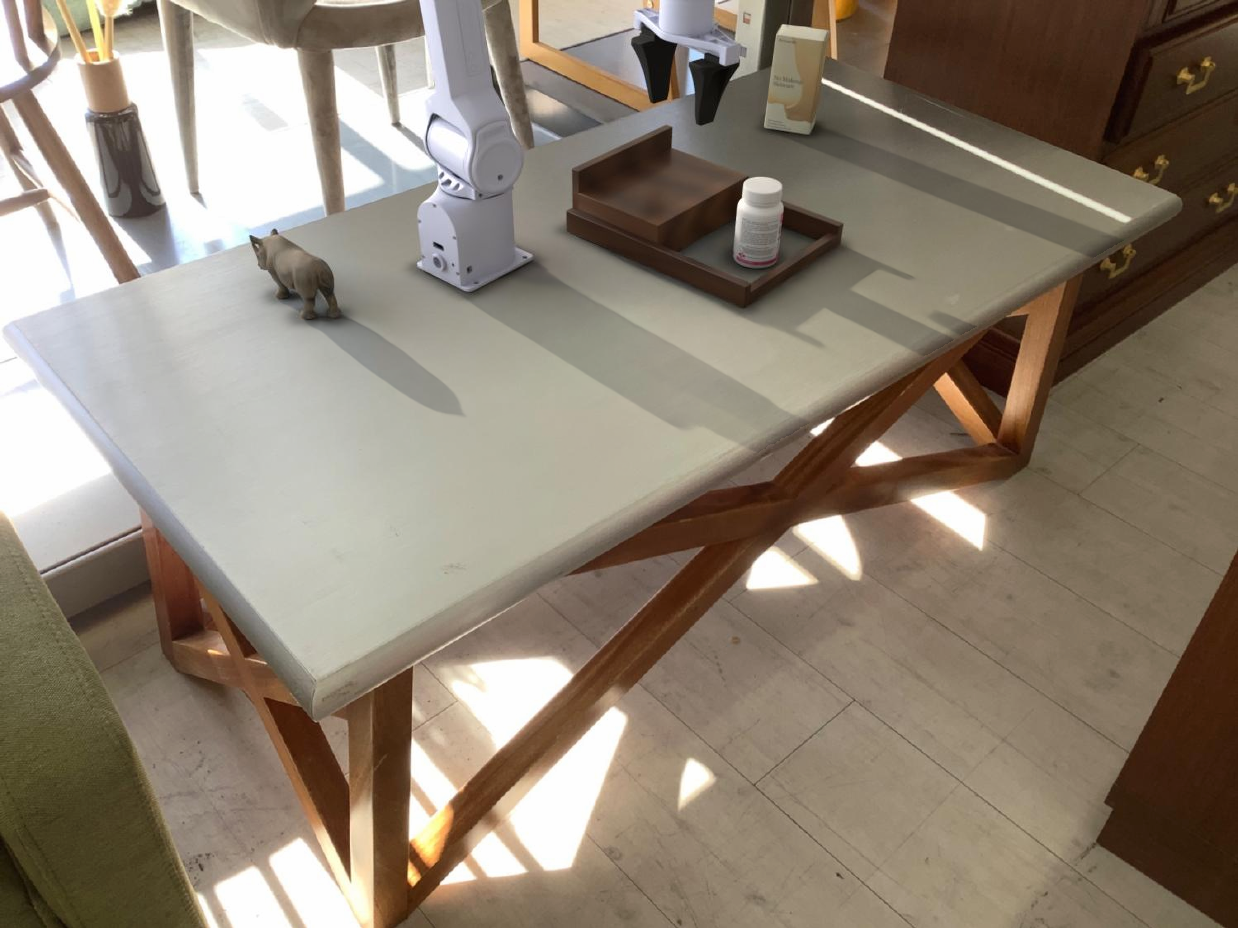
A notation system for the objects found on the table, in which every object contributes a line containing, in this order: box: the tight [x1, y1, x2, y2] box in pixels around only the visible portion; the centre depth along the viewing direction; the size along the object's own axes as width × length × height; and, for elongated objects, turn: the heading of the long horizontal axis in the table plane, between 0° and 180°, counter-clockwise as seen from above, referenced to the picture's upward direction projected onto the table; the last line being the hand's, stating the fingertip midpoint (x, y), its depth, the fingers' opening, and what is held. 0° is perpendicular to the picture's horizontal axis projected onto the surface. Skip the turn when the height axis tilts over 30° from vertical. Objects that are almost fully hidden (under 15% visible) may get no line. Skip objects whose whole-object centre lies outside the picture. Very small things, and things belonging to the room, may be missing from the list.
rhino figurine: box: [248, 227, 343, 320], centre depth 109 cm, size 4×14×6 cm, turn 43°
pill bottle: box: [732, 176, 784, 269], centre depth 115 cm, size 5×5×8 cm
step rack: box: [565, 124, 844, 309], centre depth 119 cm, size 18×24×7 cm
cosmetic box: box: [763, 23, 830, 136], centre depth 141 cm, size 6×4×12 cm
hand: (681, 111), depth 122 cm, fingers open, 7 cm apart
